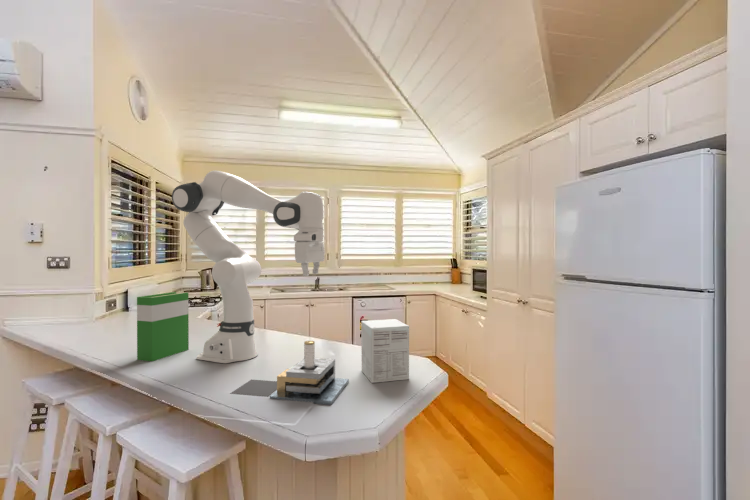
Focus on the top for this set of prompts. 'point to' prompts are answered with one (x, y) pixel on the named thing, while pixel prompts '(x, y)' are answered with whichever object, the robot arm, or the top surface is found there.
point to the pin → (309, 355)
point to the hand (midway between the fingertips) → (310, 274)
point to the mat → (257, 388)
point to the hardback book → (162, 325)
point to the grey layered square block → (310, 383)
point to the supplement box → (385, 350)
